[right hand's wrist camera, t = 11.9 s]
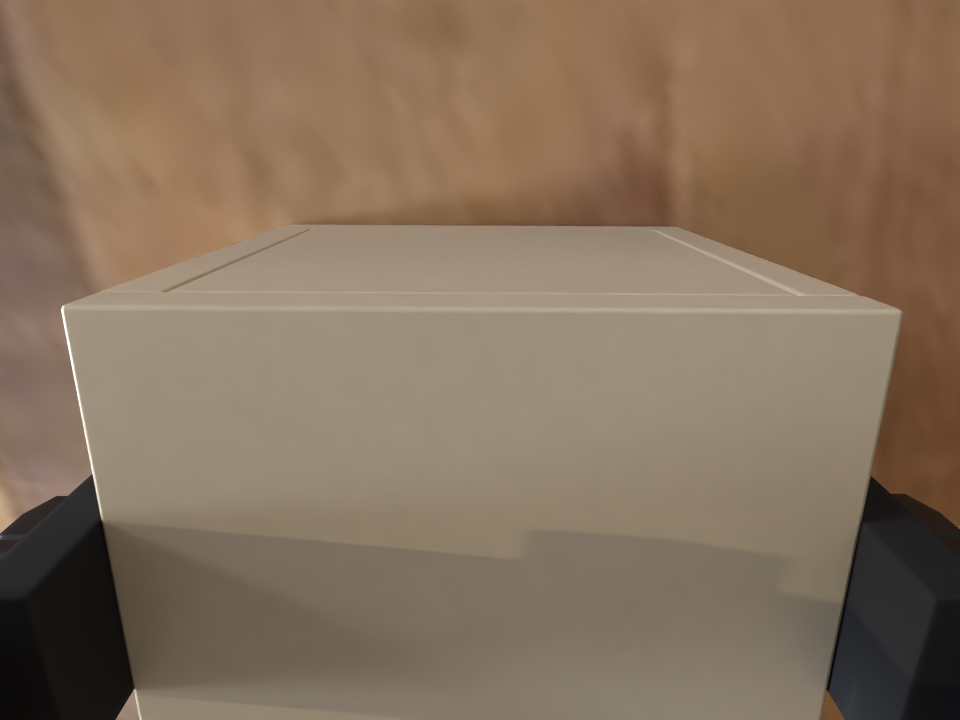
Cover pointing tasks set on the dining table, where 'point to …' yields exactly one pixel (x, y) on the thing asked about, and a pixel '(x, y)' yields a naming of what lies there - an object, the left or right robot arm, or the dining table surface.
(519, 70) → the dining table surface
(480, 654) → the cabinet
